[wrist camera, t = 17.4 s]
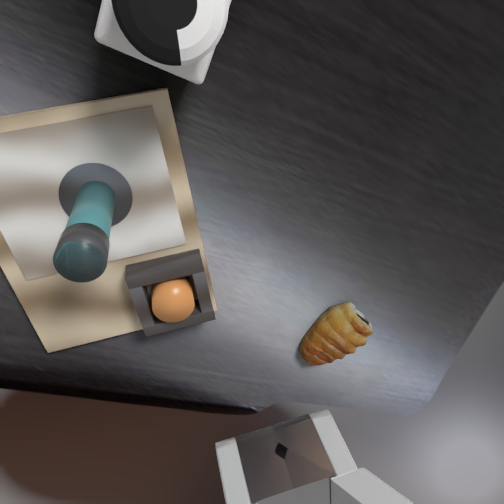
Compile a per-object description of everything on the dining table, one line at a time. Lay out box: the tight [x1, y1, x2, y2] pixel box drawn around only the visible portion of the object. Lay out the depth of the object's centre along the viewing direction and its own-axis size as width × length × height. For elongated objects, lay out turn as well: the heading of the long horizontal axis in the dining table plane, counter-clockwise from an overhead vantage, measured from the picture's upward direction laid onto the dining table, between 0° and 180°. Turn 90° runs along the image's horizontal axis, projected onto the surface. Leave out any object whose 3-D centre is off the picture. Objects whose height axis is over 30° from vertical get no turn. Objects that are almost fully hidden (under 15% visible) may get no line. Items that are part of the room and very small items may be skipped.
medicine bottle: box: [94, 0, 231, 84], centre depth 25 cm, size 7×7×12 cm
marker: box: [53, 181, 115, 283], centre depth 30 cm, size 3×3×11 cm
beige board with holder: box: [0, 88, 217, 353], centre depth 37 cm, size 23×18×4 cm
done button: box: [152, 276, 195, 322], centre depth 40 cm, size 4×4×3 cm
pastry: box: [300, 302, 373, 366], centre depth 50 cm, size 9×7×4 cm
